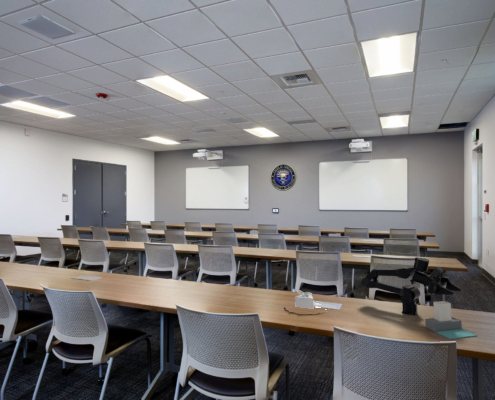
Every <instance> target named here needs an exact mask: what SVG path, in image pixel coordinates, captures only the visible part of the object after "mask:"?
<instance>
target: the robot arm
mask: <svg viewBox="0 0 495 400" xmlns="http://www.w3.org/2000/svg"><path fill="white" fill-rule="evenodd" d="M429 265H430V259H428V258H425V257H424V258H423V257H418V256H415V258H414V263H413V266H405V267H400V268H373V269H371V270H370V272H369V273H368V274H367V275H365V276H364V277H363V278H362V279H361V281H360V283H361V286H362V287H363V288H365V289H377V290H378V289H379V290H382V291H386V292H389V293H393V294H397V295H399V296H400V302H401V303H402V304H401V305H402V306H401V307H402V311H401V313H402V314H407V315H413V316H415V315H416V314H417V313H418V303H417V301H418V299H419V298H420V296H421V290H420V289H419V288H418V287H416V286H415V285H416V284H417V283H418V284H420V285H423V287H425V288H426V287H427V292H428V294H430V295H432V296H433V295H435V296H436V295H438V296H439V295H444V296H445V295H447V296H453V295H454V294H455V292H461V291H462V289H461V288H460V287H458V286H457V285H456V284H455V283H453V282H452V280H451V277H449V276H443V277H441V276H442V275H443V273H444V272H445V270H444V269H443V267H440V266H438V267H435V268H434V269H433V271H432V272H431V273H430V274H426V273H425V272H428V270H429ZM379 276H380V277H396V278H399V279H405V280H406V279H409V282H410V284H411V285H410V284H405V285H403V286H400V285H396V284H392V283H388V282H384V281H380V280H379ZM410 278H411V279H410Z"/></svg>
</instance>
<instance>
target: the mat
mask: <svg viewBox="0 0 495 400" xmlns="http://www.w3.org/2000/svg"><path fill="white" fill-rule="evenodd" d="M435 333H436V334H439V335H441V336H442V337H444V338H446V339H448V340H456V339H465V338H472V337H478V335H477V334H475V333H474V332H472V331H468V330H467V329H464V328H462V329H456V330H447V331H438V332H435Z"/></svg>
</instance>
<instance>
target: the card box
mask: <svg viewBox="0 0 495 400" xmlns="http://www.w3.org/2000/svg"><path fill="white" fill-rule="evenodd" d="M451 317H452V303H451V302H448V301H445V300H441V301H433V318H434V319H436V320H438V321H440V322H441V321H451Z"/></svg>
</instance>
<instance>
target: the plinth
mask: <svg viewBox="0 0 495 400" xmlns="http://www.w3.org/2000/svg"><path fill="white" fill-rule="evenodd" d="M424 320H425V328H426V329H428V330H430V331H432V332H434V333H436V332H438V331H447V330H456V329H463V327H462V325H463V324H462V319H458V318H456V317H453V316H451V321H441V322H440V321H438V320H436V319H434V317H431V318H430V317H429V318H425V319H424Z"/></svg>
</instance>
